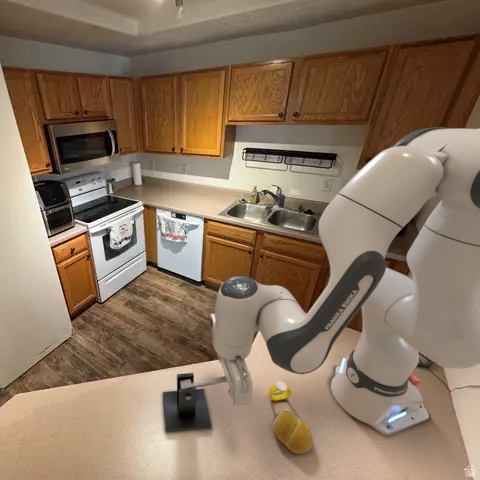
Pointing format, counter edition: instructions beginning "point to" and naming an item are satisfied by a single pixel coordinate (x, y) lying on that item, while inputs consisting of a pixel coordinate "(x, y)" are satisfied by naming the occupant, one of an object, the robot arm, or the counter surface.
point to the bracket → (185, 407)
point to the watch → (282, 388)
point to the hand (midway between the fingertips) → (226, 376)
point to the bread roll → (292, 432)
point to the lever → (202, 382)
